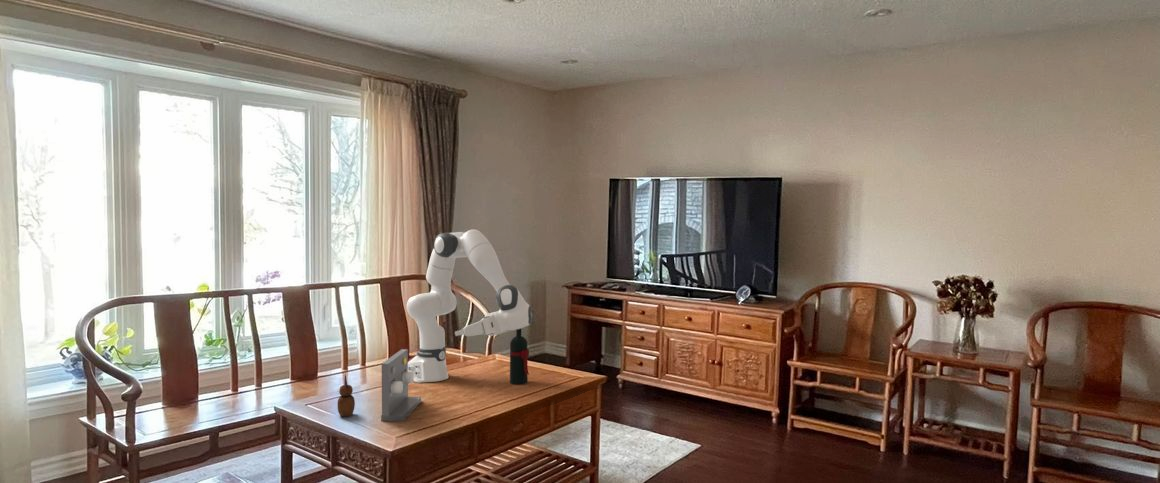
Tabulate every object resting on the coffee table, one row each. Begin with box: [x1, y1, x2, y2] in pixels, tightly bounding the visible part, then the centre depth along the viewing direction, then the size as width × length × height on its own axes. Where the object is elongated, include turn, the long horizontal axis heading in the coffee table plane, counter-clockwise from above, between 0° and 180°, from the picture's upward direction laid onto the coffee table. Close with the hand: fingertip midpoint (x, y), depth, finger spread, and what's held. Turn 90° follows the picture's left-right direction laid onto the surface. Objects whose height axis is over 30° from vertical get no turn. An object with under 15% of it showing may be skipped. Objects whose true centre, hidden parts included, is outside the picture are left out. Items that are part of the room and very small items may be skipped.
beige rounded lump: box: [402, 372, 414, 384], centre depth 257 cm, size 3×4×4 cm
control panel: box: [380, 348, 422, 422], centre depth 250 cm, size 8×24×21 cm, turn 178°
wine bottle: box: [509, 328, 530, 386], centre depth 291 cm, size 8×10×30 cm
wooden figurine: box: [337, 373, 356, 418], centre depth 244 cm, size 7×6×15 cm
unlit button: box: [391, 381, 403, 394], centre depth 243 cm, size 3×4×4 cm
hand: (458, 332), depth 258 cm, fingers open, 8 cm apart
